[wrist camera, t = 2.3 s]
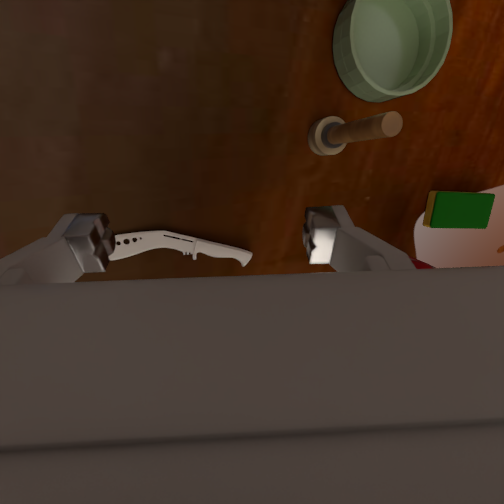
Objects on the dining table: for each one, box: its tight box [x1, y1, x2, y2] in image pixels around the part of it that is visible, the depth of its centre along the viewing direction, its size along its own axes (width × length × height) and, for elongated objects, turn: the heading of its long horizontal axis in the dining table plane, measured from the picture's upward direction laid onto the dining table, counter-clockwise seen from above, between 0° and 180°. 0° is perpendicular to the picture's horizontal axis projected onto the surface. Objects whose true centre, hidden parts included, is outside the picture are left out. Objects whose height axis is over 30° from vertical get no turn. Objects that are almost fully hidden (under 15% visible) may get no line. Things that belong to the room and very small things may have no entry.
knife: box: [108, 230, 252, 266], centre depth 52 cm, size 30×2×8 cm
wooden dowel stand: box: [308, 111, 402, 155], centre depth 44 cm, size 6×6×18 cm
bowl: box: [333, 0, 453, 102], centre depth 48 cm, size 17×17×6 cm
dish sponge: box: [423, 191, 495, 229], centre depth 62 cm, size 7×14×2 cm, turn 87°
